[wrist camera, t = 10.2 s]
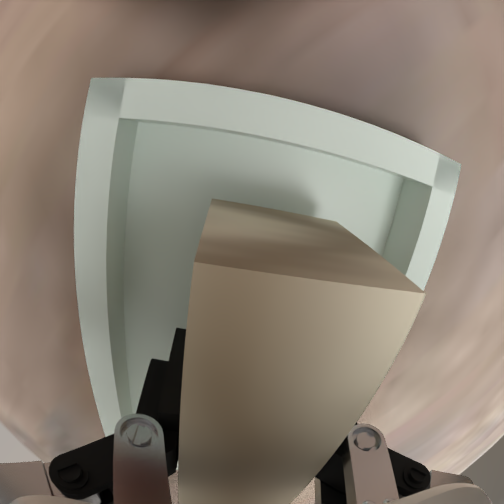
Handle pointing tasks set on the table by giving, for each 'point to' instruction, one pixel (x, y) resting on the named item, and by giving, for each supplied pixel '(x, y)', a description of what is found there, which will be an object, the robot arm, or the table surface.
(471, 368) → the table surface
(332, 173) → the tray
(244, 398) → the birch block
